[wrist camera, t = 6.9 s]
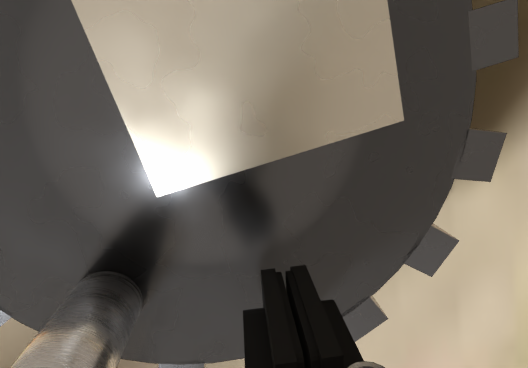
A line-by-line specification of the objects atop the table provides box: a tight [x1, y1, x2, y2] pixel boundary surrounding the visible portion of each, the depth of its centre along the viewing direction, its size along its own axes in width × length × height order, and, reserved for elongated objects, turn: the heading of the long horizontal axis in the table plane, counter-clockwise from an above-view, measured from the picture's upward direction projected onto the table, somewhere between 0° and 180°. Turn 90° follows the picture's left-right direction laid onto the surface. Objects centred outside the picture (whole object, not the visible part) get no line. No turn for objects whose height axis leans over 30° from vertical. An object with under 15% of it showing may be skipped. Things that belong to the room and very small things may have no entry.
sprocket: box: [0, 0, 519, 368], centre depth 8 cm, size 22×22×6 cm
